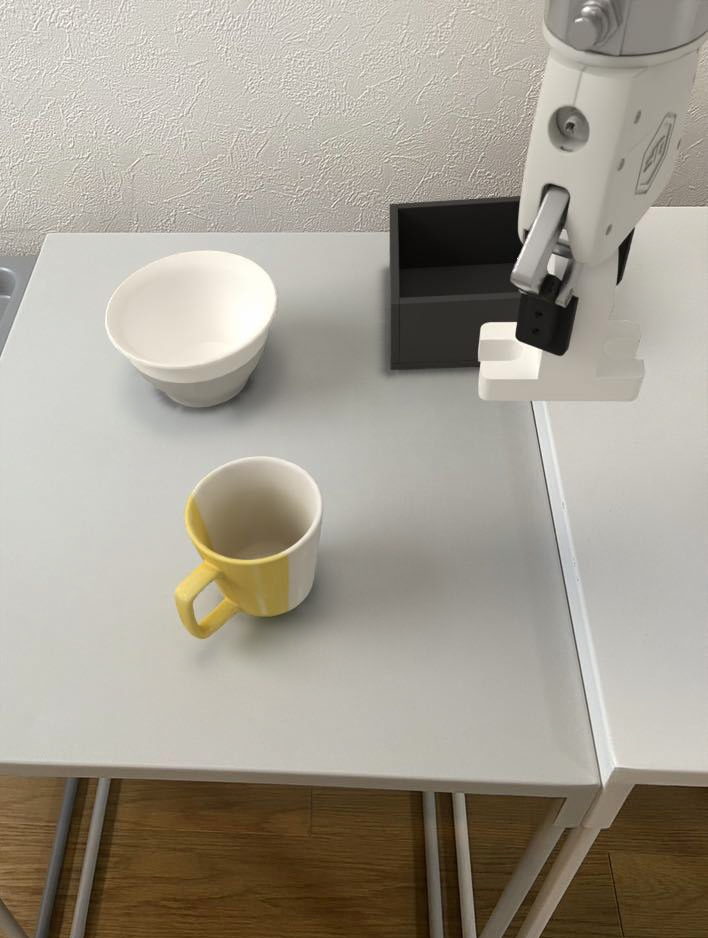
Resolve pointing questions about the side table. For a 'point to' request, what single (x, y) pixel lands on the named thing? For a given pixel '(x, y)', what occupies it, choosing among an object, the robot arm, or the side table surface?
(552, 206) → the robot arm
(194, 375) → the bowl
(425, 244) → the basket
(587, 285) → the cable organizer
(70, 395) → the side table surface
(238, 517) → the mug
